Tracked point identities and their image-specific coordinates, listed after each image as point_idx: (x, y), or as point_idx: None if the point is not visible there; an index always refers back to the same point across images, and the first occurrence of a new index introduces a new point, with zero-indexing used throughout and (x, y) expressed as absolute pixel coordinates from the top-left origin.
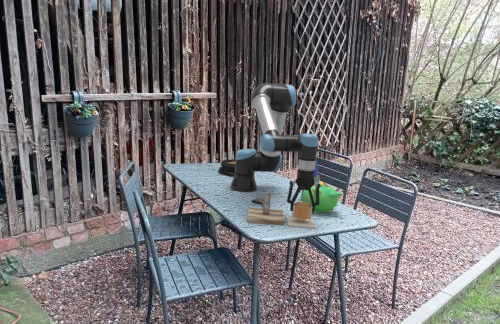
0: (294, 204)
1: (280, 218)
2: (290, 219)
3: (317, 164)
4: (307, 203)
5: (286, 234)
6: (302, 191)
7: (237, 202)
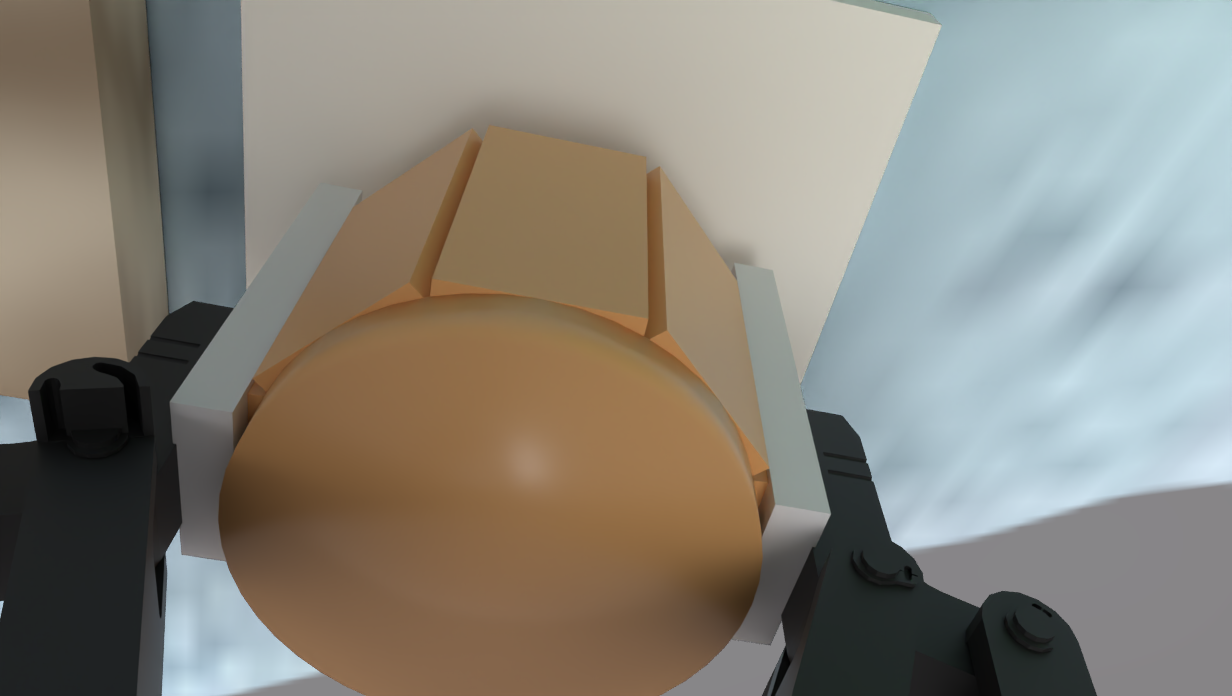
0: (215, 499)
1: (40, 269)
2: (314, 138)
3: None
4: (686, 513)
5: (215, 649)
6: None
7: None
